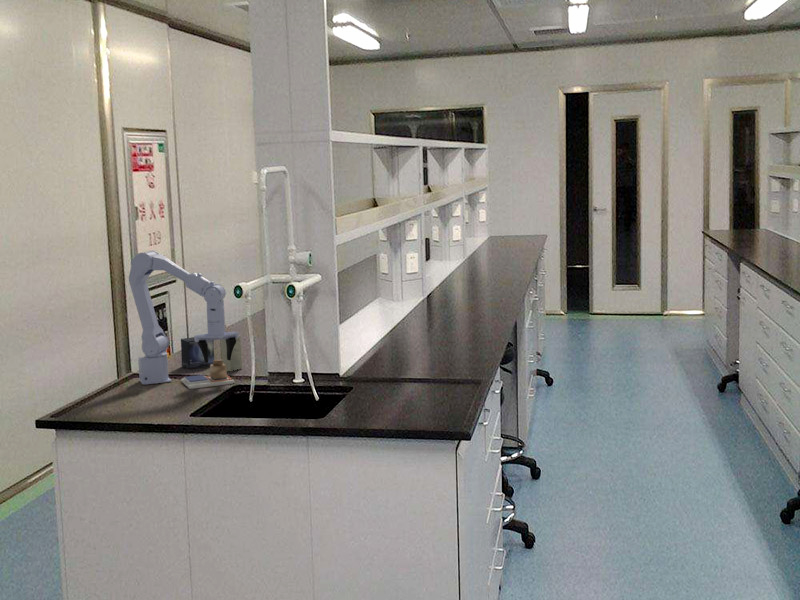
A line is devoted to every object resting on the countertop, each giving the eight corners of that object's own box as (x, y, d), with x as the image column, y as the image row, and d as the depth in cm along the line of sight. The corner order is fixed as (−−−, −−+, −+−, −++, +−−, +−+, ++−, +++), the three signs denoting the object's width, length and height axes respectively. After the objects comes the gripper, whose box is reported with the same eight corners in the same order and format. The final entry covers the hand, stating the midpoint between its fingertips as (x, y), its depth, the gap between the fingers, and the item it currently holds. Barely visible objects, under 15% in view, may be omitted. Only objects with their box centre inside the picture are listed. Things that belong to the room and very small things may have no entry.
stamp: (213, 380, 286) (213, 362, 285) (210, 377, 290) (209, 359, 289) (226, 378, 288) (226, 360, 287) (223, 376, 292) (222, 358, 291)
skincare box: (234, 367, 311) (233, 334, 309) (242, 368, 308) (241, 335, 306) (220, 370, 306) (219, 337, 304) (228, 372, 303) (227, 338, 302)
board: (189, 388, 279) (189, 382, 278) (181, 381, 289) (181, 375, 289) (234, 383, 285) (234, 377, 285) (225, 376, 296) (225, 370, 296)
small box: (189, 369, 309) (187, 341, 307) (181, 366, 314) (179, 338, 312) (215, 365, 315) (214, 337, 314) (207, 362, 320) (206, 335, 319)
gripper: (197, 324, 279) (198, 365, 281) (240, 321, 286) (241, 360, 288) (192, 321, 286) (193, 361, 288) (234, 318, 292) (236, 357, 294)
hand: (217, 361), depth 288 cm, fingers open, 7 cm apart
